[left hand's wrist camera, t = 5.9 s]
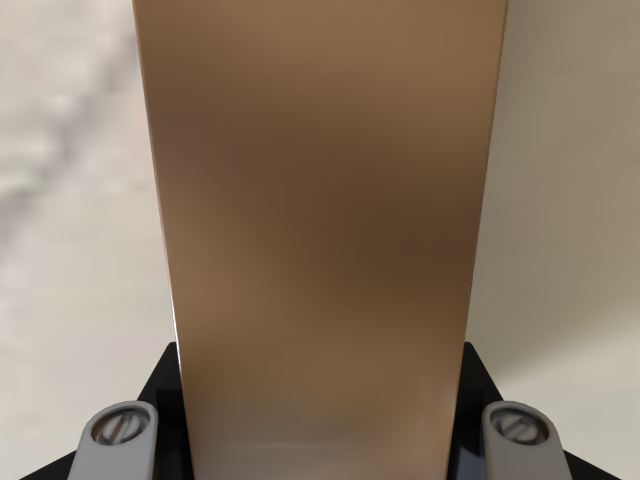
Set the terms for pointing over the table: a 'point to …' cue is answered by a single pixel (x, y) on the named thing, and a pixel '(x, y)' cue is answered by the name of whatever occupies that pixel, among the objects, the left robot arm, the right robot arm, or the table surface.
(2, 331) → the table surface
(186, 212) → the bar
